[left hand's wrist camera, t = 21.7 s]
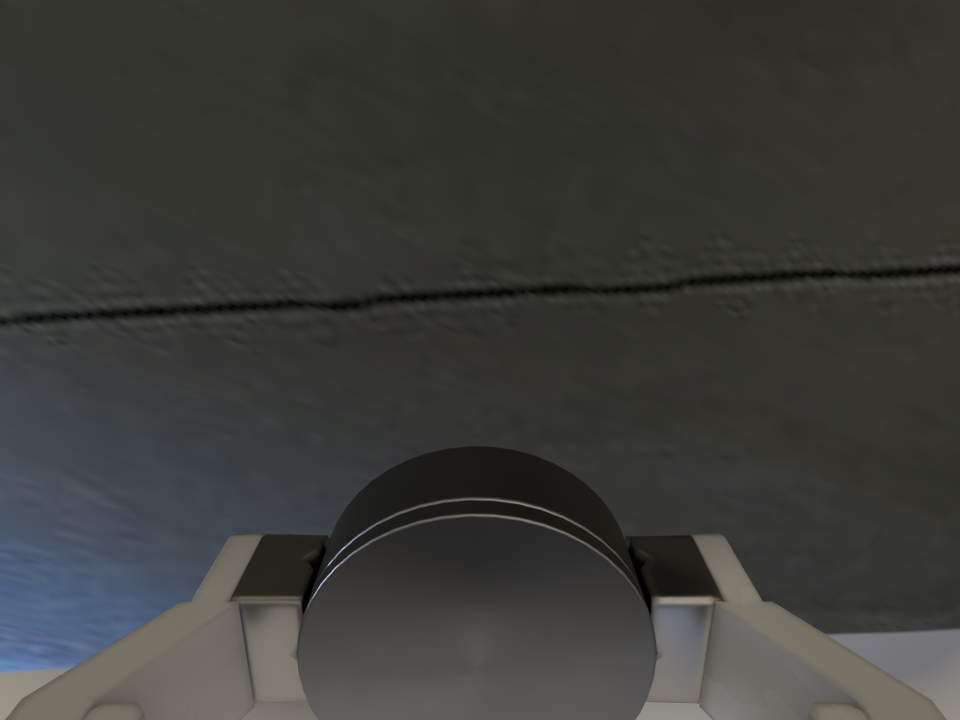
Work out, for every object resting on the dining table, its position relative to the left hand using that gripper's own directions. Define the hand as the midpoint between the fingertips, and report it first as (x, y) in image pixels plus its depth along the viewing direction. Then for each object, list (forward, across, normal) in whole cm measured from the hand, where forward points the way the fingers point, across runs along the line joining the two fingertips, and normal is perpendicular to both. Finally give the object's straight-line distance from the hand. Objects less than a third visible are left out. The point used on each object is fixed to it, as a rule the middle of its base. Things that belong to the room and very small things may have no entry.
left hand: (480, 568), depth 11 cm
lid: (-2, 0, 0) cm, 2 cm away
